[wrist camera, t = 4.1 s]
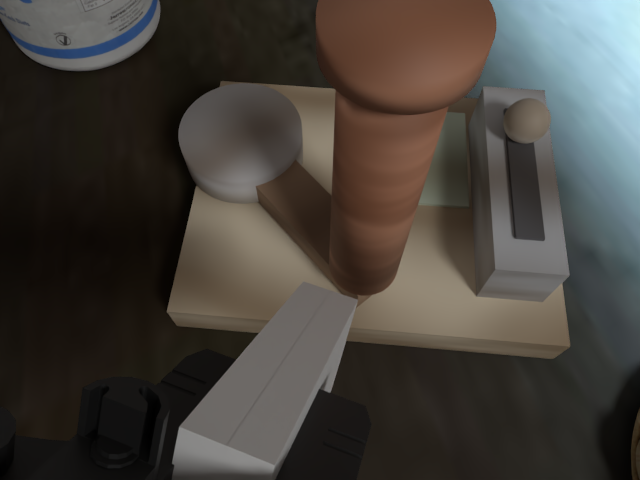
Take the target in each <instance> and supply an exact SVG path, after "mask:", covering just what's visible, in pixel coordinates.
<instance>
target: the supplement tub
mask: <svg viewBox="0 0 640 480" xmlns="http://www.w3.org/2000/svg"><path fill="white" fill-rule="evenodd" d="M159 18H160V3H159V0H0V19H1V21H2V22H3V24H4V26H5V27H6V29H7V30H8V32H9V33H10V35H11V36H12V38H13V40H14V41H15V43H16V44H17V46H18V47H19V48H20V49H21V50H22V51H23V52H24V53H25V54H26V55H27V56H28V57H30V58H31V59H33V60H34V61H36V62H38V63H40V64H42V65H45V66H48V67H51V68H55V69H60V70H67V71H90V70H97V69H101V68H105V67H109V66H112V65H114V64H117V63H119V62H121V61H123V60H125V59H127V58H129V57H130V56H132V55H133V54H135V53H136V52H138V51H139V50H140V49H141V48H142V47H143V46H144V45H145V44H146V43H147V42H148V41H149V40H150V39H151V37H152V36H153V34H154V32H155V30H156V28H157V26H158V23H159Z"/></svg>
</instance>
